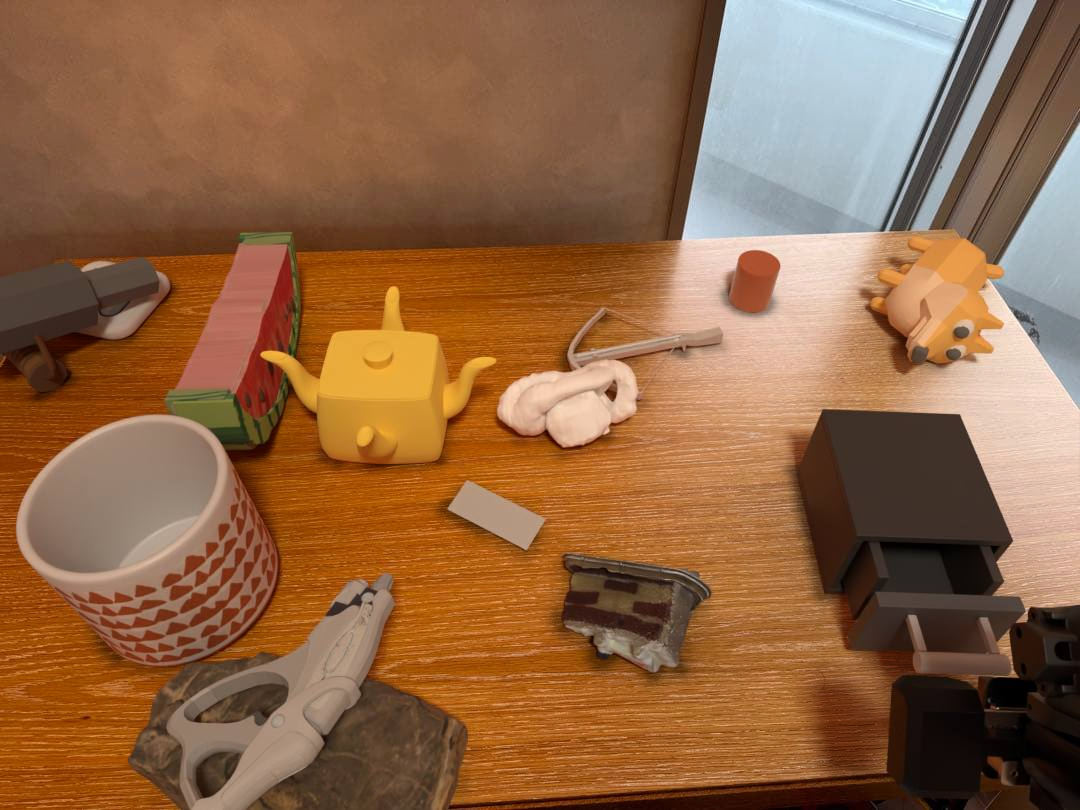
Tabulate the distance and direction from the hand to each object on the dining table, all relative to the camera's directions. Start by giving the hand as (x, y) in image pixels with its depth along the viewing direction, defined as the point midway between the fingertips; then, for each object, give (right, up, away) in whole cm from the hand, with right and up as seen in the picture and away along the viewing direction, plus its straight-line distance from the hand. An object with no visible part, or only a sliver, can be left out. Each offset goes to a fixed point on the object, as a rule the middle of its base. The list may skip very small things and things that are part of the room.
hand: (983, 683), depth 55 cm
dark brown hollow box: (-1, +8, +16) cm, 18 cm away
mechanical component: (-74, +31, +22) cm, 83 cm away
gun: (-50, +2, +1) cm, 50 cm away
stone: (-45, -6, +2) cm, 46 cm away
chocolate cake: (-23, +1, +10) cm, 25 cm away
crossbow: (-19, +23, +30) cm, 42 cm away
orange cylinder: (-6, +30, +36) cm, 47 cm away
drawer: (-1, +2, +10) cm, 10 cm away
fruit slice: (-56, +19, +24) cm, 64 cm away
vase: (-56, +4, +10) cm, 57 cm away
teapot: (-43, +16, +22) cm, 51 cm away
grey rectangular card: (-33, +9, +15) cm, 37 cm away
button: (-73, +33, +35) cm, 87 cm away
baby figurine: (-28, +22, +23) cm, 42 cm away
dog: (+7, +32, +34) cm, 47 cm away
